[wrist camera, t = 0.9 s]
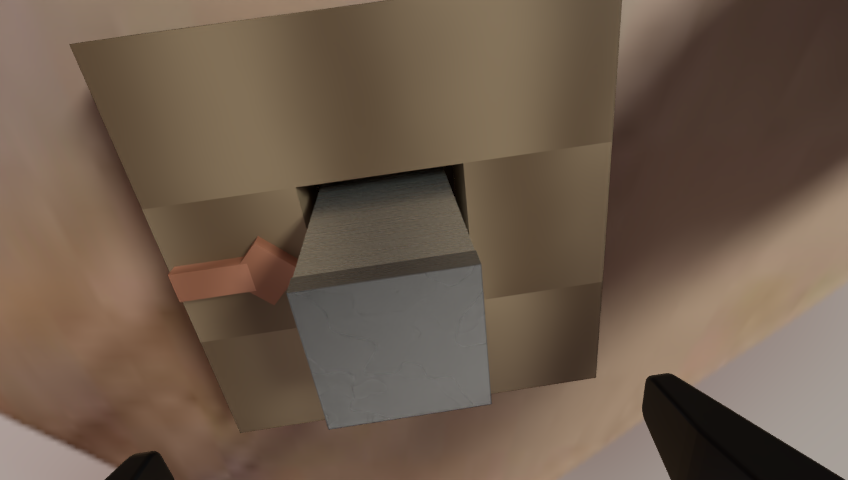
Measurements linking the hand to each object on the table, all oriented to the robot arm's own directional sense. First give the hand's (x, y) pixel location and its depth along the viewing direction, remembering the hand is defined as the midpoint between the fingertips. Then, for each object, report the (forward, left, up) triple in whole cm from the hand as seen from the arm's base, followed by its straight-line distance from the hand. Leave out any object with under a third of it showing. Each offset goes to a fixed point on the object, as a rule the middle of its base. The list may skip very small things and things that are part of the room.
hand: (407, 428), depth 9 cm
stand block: (0, 0, -10) cm, 10 cm away
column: (0, 0, -10) cm, 10 cm away
